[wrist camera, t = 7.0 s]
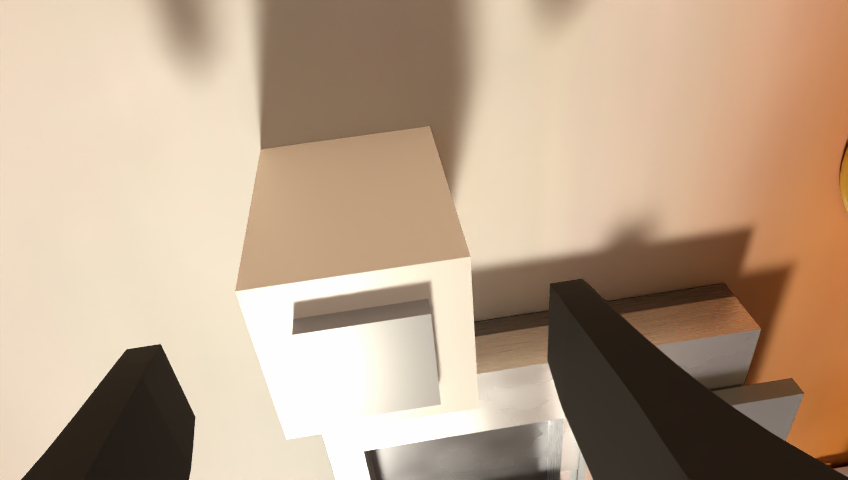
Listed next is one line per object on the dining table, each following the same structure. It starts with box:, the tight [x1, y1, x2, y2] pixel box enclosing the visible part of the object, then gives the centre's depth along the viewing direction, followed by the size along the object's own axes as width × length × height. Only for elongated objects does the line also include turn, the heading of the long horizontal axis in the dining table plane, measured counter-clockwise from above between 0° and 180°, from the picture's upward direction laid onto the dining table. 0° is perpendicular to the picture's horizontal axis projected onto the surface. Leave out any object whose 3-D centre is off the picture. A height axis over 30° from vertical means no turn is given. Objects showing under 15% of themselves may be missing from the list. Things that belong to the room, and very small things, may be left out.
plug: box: [235, 126, 479, 439], centre depth 14 cm, size 4×4×6 cm
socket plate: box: [323, 284, 761, 480], centre depth 21 cm, size 12×11×2 cm
